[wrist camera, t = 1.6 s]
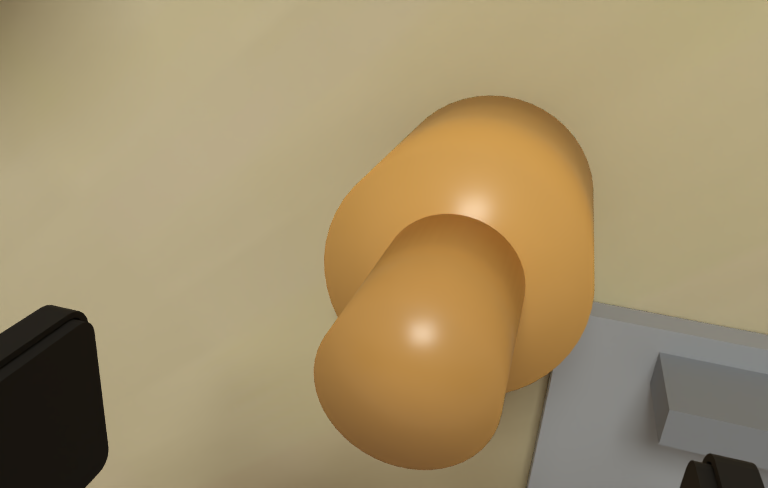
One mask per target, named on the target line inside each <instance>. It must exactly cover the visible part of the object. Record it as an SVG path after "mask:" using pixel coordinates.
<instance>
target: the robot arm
mask: <svg viewBox="0 0 768 488" xmlns="http://www.w3.org/2000/svg"><path fill="white" fill-rule="evenodd" d="M107 457H108V440H107V432H106V424H105V415H104V407H103V399H102V390H101V382H100V374H99V366H98V357H97V349H96V341H95V332H94V328H93V326H92V325H91V324H90V323H88V320H87V317H86V316H85V315H84V313H82V312H80V311H76V310H71V309H67V308H62V307H58V306H53V305H46V306H44V307H42V308H40V309H38V310H37V311H35V312H33V313H32V314H30V315H29V316H27V317H26V318H24V319H23V320H21V321H19V322H18V323H16V324H15V325H13V326H12V327H10V328H8V329H7V330H5V331H4V332H2V333H1V334H0V488H85V487H86V486H87V485H88V484H89V483H90V482H91V481H92V480H93V479H94V478H95V477H96V475H97V474H98V473H99V472H100V471H101V470H102V468H103V466H104V465H105V463H106V460H107ZM680 488H765V487H764V484H763V481H762V478H761V476H760V473H759V470H758V468H757V466H756V465H755V464H754V463H752V462H747V461H743V460H738V459H734V458H729V457H725V456H720V455H716V454H712V453H709V454H707V455H706V456H705V457H704V459H703V461H702V462H698V461H694V460H691V461H690V462H689V463H688V465H687V467H686V470H685V473H684V476H683V479H682V482H681V485H680Z"/></svg>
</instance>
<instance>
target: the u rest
mask: <svg viewBox="0 0 768 488" xmlns="http://www.w3.org/2000/svg"><path fill="white" fill-rule="evenodd" d="M709 453H712V454H716V455H720V456H725V457H729V458H734V459H738V460H743V461H747V462H752V463H754V464H755V465H756V466H757V468H758V470H759V473H760V476H761V478H762V481H763V484H764V487H765V488H768V335H765V334H760V333H755V332H749V331H744V330H739V329H734V328H728V327H723V326H718V325H713V324H708V323H702V322H697V321H692V320H687V319H681V318H676V317H671V316H666V315H661V314H655V313H650V312H645V311H640V310H634V309H629V308H624V307H619V306H614V305H608V304H603V303H598V302H593V304H592V310H591V313H590V316H589V320H588V323H587V326H586V328H585V330H584V332H583V334H582V336H581V338H580V340H579V341H578V343H577V344H576V345H575V347H574V348H573V350H572V351H571V353H570V354H569V355H568V356H567V357H566V358H565V359H564V360H563V361H562V362H561V363H560V364H559V365H558V366H557V367H556V368H554V369H553V370H552V371H551V373H550V378H549V383H548V387H547V392H546V397H545V401H544V406H543V411H542V415H541V420H540V425H539V430H538V434H537V439H536V444H535V448H534V453H533V458H532V462H531V467H530V472H529V477H528V481H527V486H526V488H680V485H681V482H682V479H683V476H684V473H685V470H686V467H687V465H688V463H689V462H690V461H691V460H694V461H698V462H702V461H703V459H704V457H705V456H706V455H707V454H709Z"/></svg>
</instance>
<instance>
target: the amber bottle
mask: <svg viewBox="0 0 768 488" xmlns="http://www.w3.org/2000/svg"><path fill="white" fill-rule="evenodd" d="M324 266H325V278H326V284H327V289H328V292H329V296H330V299H331V303H332V305H333V307H334V309H335V312H336V314H337V316H338V318H337V320H336V321H335V323H334V324H333V325H332V327H331V328H330V330H329V331H328V332H327V334H326V335H325V337H324V338H323V340H322V342H321V344H320V346H319V348H318V351H317V354H316V358H315V364H314V382H315V387H316V392H317V395H318V398H319V401H320V403H321V405H322V408H323V410H324V412H325V413H326V415H327V417H328V418H329V420H330V421H331V422H332V424H333V425H334V426H335V428H336V429H337V430H338V431H339V432H340V433H341V434H342V435H343V436H344V437H345V438H346V439H347V440H348V441H349V442H351V443H352V444H353V445H354V446H356V447H357V448H359V449H360V450H361V451H363V452H365V453H366V454H368V455H370V456H372V457H374V458H376V459H378V460H380V461H383V462H385V463H388V464H391V465H394V466H398V467H403V468H408V469H417V470H433V469H441V468H446V467H450V466H454V465H456V464H459V463H461V462H464V461H466V460H467V459H469V458H471V457H473V456H474V455H475V454H477V453H478V452H479V451H481V450H482V449H483V448H484V447H485V446H486V444H487V443H488V442H489V441H490V439H491V438H492V436H493V435H494V433H495V431H496V429H497V427H498V425H499V421H500V417H501V413H502V408H503V403H504V398H505V393H507V392H510V391H514V390H517V389H520V388H522V387H524V386H527V385H529V384H531V383H533V382H535V381H537V380H538V379H540V378H542V377H543V376H545V375H547V374H548V373H549V372H551V371H552V370H553V369H554V368H556V367H557V366H558V365H559V364H560V363H561V362H562V361H563V360H564V359H565V358H566V357H567V356H568V355H569V354H570V353H571V351H572V350H573V348H574V347H575V345H576V344H577V343H578V341H579V340H580V338H581V336H582V334H583V332H584V330H585V328H586V326H587V323H588V320H589V316H590V313H591V310H592V304H593V298H594V212H593V182H592V175H591V171H590V168H589V165H588V161H587V159H586V157H585V155H584V152H583V150H582V148H581V147H580V145H579V144H578V142H577V140H576V139H575V137H574V136H573V135H572V134H571V133H570V132H569V130H568V129H567V128H566V127H565V126H564V125H563V124H562V123H561V122H559V121H558V120H557V119H556V118H555V117H553V116H552V115H550V114H549V113H547V112H546V111H544V110H543V109H541V108H539V107H537V106H535V105H533V104H530V103H528V102H525V101H522V100H519V99H514V98H509V97H504V96H477V97H472V98H467V99H462V100H459V101H457V102H454V103H451V104H449V105H447V106H445V107H443V108H441V109H439V110H437V111H436V112H434V113H433V114H431V115H430V116H429V117H427V118H426V119H425V120H424V121H423V122H422V123H421V124H420V125H418V126H417V127H416V128H415V129H414V130H413V131H412V132H411V133H410V134H409V135H408V136H407V137H406V138H405V139H404V140H403V141H402V142H401V143H400V144H398V145H397V146H396V147H395V148H394V149H393V150H392V151H391V152H390V153H389V154H388V155H387V156H386V157H385V158H384V159H383V160H382V161H381V162H379V163H378V164H377V165H376V166H375V167H374V168H373V169H372V170H371V171H370V172H369V173H368V174H367V175H366V176H365V177H364V178H363V179H362V180H361V181H359V182H358V183H357V184H356V185H355V186H354V187H353V189H352V190H351V191H350V192H349V193H348V195H347V196H346V197H345V198H344V200H343V201H342V203H341V205H340V206H339V208H338V210H337V211H336V213H335V216H334V218H333V220H332V223H331V225H330V228H329V232H328V236H327V240H326V246H325V255H324Z"/></svg>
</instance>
